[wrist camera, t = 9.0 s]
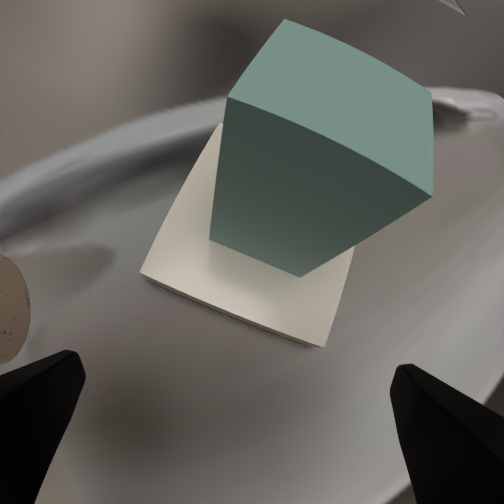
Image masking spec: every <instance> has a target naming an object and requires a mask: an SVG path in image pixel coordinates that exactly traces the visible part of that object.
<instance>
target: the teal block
mask: <svg viewBox="0 0 504 504" xmlns="http://www.w3.org/2000/svg"><path fill="white" fill-rule="evenodd" d="M433 170H434V137H433V113H432V98H431V92H429V91H428V90H426V89H425V88H423V87H422V86H420V85H419V84H417V83H416V82H414V81H412V80H411V79H409V78H407V77H406V76H404V75H403V74H401V73H399V72H398V71H396V70H395V69H393V68H391V67H389V66H388V65H386V64H384V63H382V62H380V61H379V60H377V59H375V58H373V57H371V56H369V55H367V54H365V53H364V52H362V51H360V50H358V49H355V48H353V47H351V46H349V45H347V44H345V43H343V42H341V41H339V40H336V39H334V38H332V37H329V36H327V35H325V34H323V33H320V32H318V31H315V30H313V29H310V28H307V27H305V26H303V25H300V24H297V23H294V22H292V21H289V20H286V19H284V21H283V22H282V23H281V24H280V25H279V27H278V28H277V29H276V31H275V32H274V33H273V35H272V36H271V37H270V38H269V39H268V41H267V42H266V44H265V45H264V46H263V47H262V49H261V50H260V51H259V53H258V54H257V56H256V57H255V58H254V59H253V61H252V62H251V63H250V65H249V66H248V68H247V69H246V70H245V72H244V73H243V75H242V76H241V77H240V79H239V80H238V82H237V83H236V85H235V86H234V87H233V89H232V90H231V92H230V93H229V95H228V96H227V102H226V108H225V115H224V122H223V129H222V136H221V143H220V150H219V158H218V166H217V174H216V182H215V190H214V199H213V207H212V217H211V226H210V235H209V240H211V241H214V242H216V243H218V244H221V245H223V246H226V247H228V248H230V249H233V250H235V251H237V252H240V253H242V254H245V255H247V256H249V257H252V258H254V259H257V260H259V261H261V262H264V263H266V264H269V265H271V266H273V267H276V268H278V269H281V270H283V271H285V272H288V273H290V274H293V275H295V276H297V277H302V276H304V275H306V274H307V273H309V272H311V271H312V270H314V269H316V268H318V267H319V266H321V265H323V264H324V263H326V262H328V261H330V260H331V259H333V258H335V257H336V256H338V255H340V254H341V253H343V252H345V251H346V250H348V249H350V248H351V247H353V246H355V245H356V244H358V243H360V242H361V241H363V240H364V239H366V238H368V237H369V236H371V235H373V234H374V233H376V232H377V231H379V230H381V229H382V228H384V227H386V226H387V225H389V224H390V223H392V222H393V221H395V220H397V219H398V218H400V217H401V216H403V215H405V214H406V213H408V212H409V211H411V210H412V209H414V208H415V207H417V206H418V205H420V204H422V203H423V202H425V201H426V200H428V199H429V198H431V197H432V195H433Z"/></svg>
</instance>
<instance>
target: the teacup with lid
mask: <svg viewBox="0 0 504 504" xmlns="http://www.w3.org/2000/svg"><path fill="white" fill-rule="evenodd" d="M29 324H30V299H29V294H28V289H27V286H26V283H25V280H24V278H23V276H22V274H21V273H20V271H19V269H18V268H17V266H16V265H15V264H14V263H13V262H12V261H11V260H9V259H8V258H6V257H4V256H2V255H0V364H4V363H6V362H8V361H10V360H11V359H13V358H14V357H15V356H16V355H17V354H18V352H19V351H20V349H21V348H22V346H23V344H24V342H25V340H26V337H27V334H28V329H29Z"/></svg>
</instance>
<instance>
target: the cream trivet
mask: <svg viewBox="0 0 504 504" xmlns="http://www.w3.org/2000/svg"><path fill="white" fill-rule="evenodd" d="M222 129H223V123H219V125H218V126H217V128H216V130H215V131H214V133H213V135H212V136H211V138H210V140H209V141H208V143H207V145H206V146H205V148H204V150H203V151H202V153H201V155H200V156H199V158H198V160H197V162H196V163H195V165H194V167H193V169H192V170H191V172H190V174H189V176H188V178H187V179H186V181H185V183H184V185H183V187H182V188H181V190H180V192H179V194H178V196H177V198H176V200H175V201H174V203H173V205H172V207H171V209H170V211H169V213H168V215H167V217H166V219H165V221H164V223H163V225H162V227H161V228H160V230H159V232H158V234H157V237H156V239H155V241H154V243H153V245H152V247H151V249H150V251H149V253H148V255H147V257H146V259H145V261H144V264H143V266H142V268H141V270H140V272H139V273H140V274H141V275H142V276H143V277H144V278H145V279H146V280H148V281H151V282H153V283H155V284H157V285H159V286H161V287H164V288H166V289H168V290H170V291H173V292H175V293H177V294H179V295H182V296H184V297H186V298H188V299H191V300H193V301H195V302H198V303H200V304H202V305H205V306H207V307H209V308H212V309H214V310H217V311H219V312H221V313H224V314H226V315H229V316H231V317H234V318H236V319H239V320H241V321H244V322H246V323H249V324H251V325H254V326H256V327H259V328H262V329H264V330H267V331H269V332H272V333H275V334H277V335H280V336H283V337H285V338H288V339H291V340H294V341H296V342H299V343H302V344H305V345H308V346H311V347H321V348H324V347H325V344H326V341H327V338H328V335H329V332H330V329H331V326H332V323H333V320H334V317H335V314H336V311H337V308H338V304H339V301H340V298H341V294H342V291H343V288H344V284H345V281H346V277H347V274H348V270H349V267H350V263H351V259H352V255H353V252H354V248H355V246H353V247H351V248H350V249H348V250H346V251H345V252H343V253H341V254H340V255H338V256H336V257H335V258H333V259H331V260H330V261H328V262H326V263H324V264H323V265H321V266H319V267H318V268H316V269H314V270H312V271H311V272H309V273H307V274H306V275H304V276H302V277H297V276H295V275H293V274H290V273H288V272H285V271H283V270H281V269H278V268H276V267H273V266H271V265H269V264H266V263H264V262H261V261H259V260H257V259H254V258H252V257H249V256H247V255H245V254H242V253H240V252H237V251H235V250H233V249H230V248H228V247H226V246H223V245H221V244H218V243H216V242H214V241H211V240H209V235H210V226H211V217H212V207H213V199H214V190H215V182H216V174H217V166H218V158H219V150H220V143H221V136H222Z"/></svg>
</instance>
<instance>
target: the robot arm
mask: <svg viewBox="0 0 504 504" xmlns="http://www.w3.org/2000/svg"><path fill="white" fill-rule="evenodd" d="M85 379H86V375H85V371H84V368H83V365H82V362H81V359H80V356H79V354H78V353H77V352H75V351H70V350H63V351H61V352H58V353H56V354H53V355H51V356H48V357H46V358H43V359H41V360H38V361H36V362H33V363H31V364H28V365H26V366H23V367H20V368H18V369H15V370H13V371H10V372H8V373H5V374H2V375H0V504H34V503H35V500H36V498H37V495H38V493H39V490H40V488H41V485H42V483H43V480H44V478H45V475H46V473H47V471H48V468H49V466H50V464H51V461H52V459H53V457H54V455H55V452H56V450H57V448H58V446H59V444H60V441H61V439H62V437H63V435H64V433H65V431H66V429H67V426H68V424H69V422H70V420H71V417H72V415H73V412H74V409H75V407H76V404H77V401H78V399H79V396H80V393H81V391H82V388H83V385H84V383H85ZM390 398H391V403H392V407H393V412H394V417H395V423H396V428H397V433H398V438H399V442H400V446H401V449H402V452H403V456H404V459H405V463H406V466H407V469H408V473H409V477H410V480H411V484H412V487H413V491H414V495H415V499H416V503H417V504H504V417H503V416H501V415H499V414H498V413H496V412H494V411H493V410H491V409H489V408H487V407H485V406H484V405H482V404H480V403H479V402H477V401H475V400H473V399H472V398H470V397H468V396H467V395H465V394H463V393H461V392H460V391H458V390H456V389H455V388H453V387H451V386H449V385H448V384H446V383H444V382H443V381H441V380H439V379H437V378H436V377H434V376H432V375H431V374H429V373H427V372H426V371H424V370H422V369H420V368H419V367H417V366H415V365H414V364H403V365H399V366H398V367H397V368H396V371H395V374H394V378H393V381H392V384H391V387H390Z"/></svg>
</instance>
